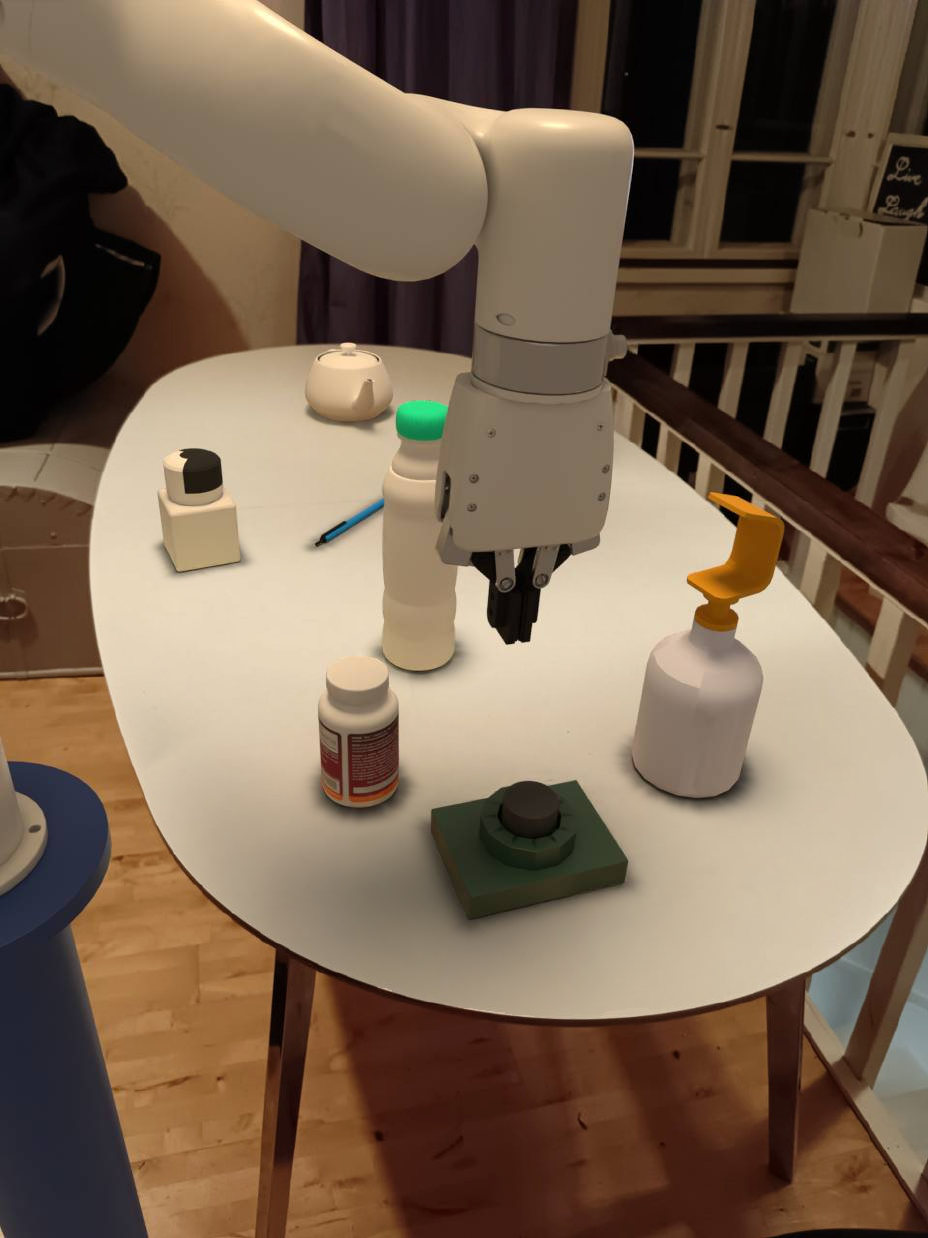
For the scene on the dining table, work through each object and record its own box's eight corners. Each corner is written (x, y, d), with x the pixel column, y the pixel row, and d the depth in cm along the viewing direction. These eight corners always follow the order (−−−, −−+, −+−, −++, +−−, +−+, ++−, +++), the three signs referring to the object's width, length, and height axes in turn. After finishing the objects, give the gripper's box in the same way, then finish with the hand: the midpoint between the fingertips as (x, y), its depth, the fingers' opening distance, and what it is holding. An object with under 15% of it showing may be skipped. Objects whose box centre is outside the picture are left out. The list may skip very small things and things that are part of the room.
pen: (313, 547, 112) (312, 538, 111) (401, 492, 126) (400, 484, 126) (319, 548, 111) (318, 539, 111) (406, 493, 126) (406, 485, 125)
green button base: (468, 919, 66) (471, 878, 64) (430, 830, 73) (431, 790, 71) (624, 882, 69) (632, 842, 67) (573, 800, 76) (579, 762, 74)
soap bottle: (609, 749, 82) (652, 485, 69) (689, 720, 86) (743, 465, 73) (679, 814, 76) (740, 536, 63) (761, 779, 80) (835, 511, 67)
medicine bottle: (225, 535, 113) (216, 439, 107) (241, 562, 108) (233, 462, 101) (163, 545, 110) (150, 447, 104) (177, 573, 105) (164, 471, 98)
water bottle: (436, 628, 97) (444, 389, 84) (466, 664, 92) (480, 415, 79) (371, 642, 95) (369, 397, 82) (398, 680, 89) (400, 424, 76)
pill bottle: (407, 766, 79) (409, 656, 73) (386, 817, 74) (387, 702, 68) (335, 754, 80) (332, 643, 74) (310, 803, 75) (304, 688, 69)
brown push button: (513, 845, 67) (515, 823, 66) (493, 807, 70) (495, 786, 69) (565, 833, 68) (568, 812, 67) (543, 796, 71) (546, 776, 70)
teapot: (290, 395, 156) (287, 328, 151) (370, 388, 161) (370, 323, 156) (328, 442, 139) (326, 369, 134) (415, 433, 144) (417, 362, 139)
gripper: (627, 336, 59) (588, 593, 69) (392, 343, 55) (386, 616, 64) (688, 373, 53) (636, 649, 63) (430, 384, 49) (417, 679, 58)
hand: (510, 632), depth 63 cm, fingers closed
